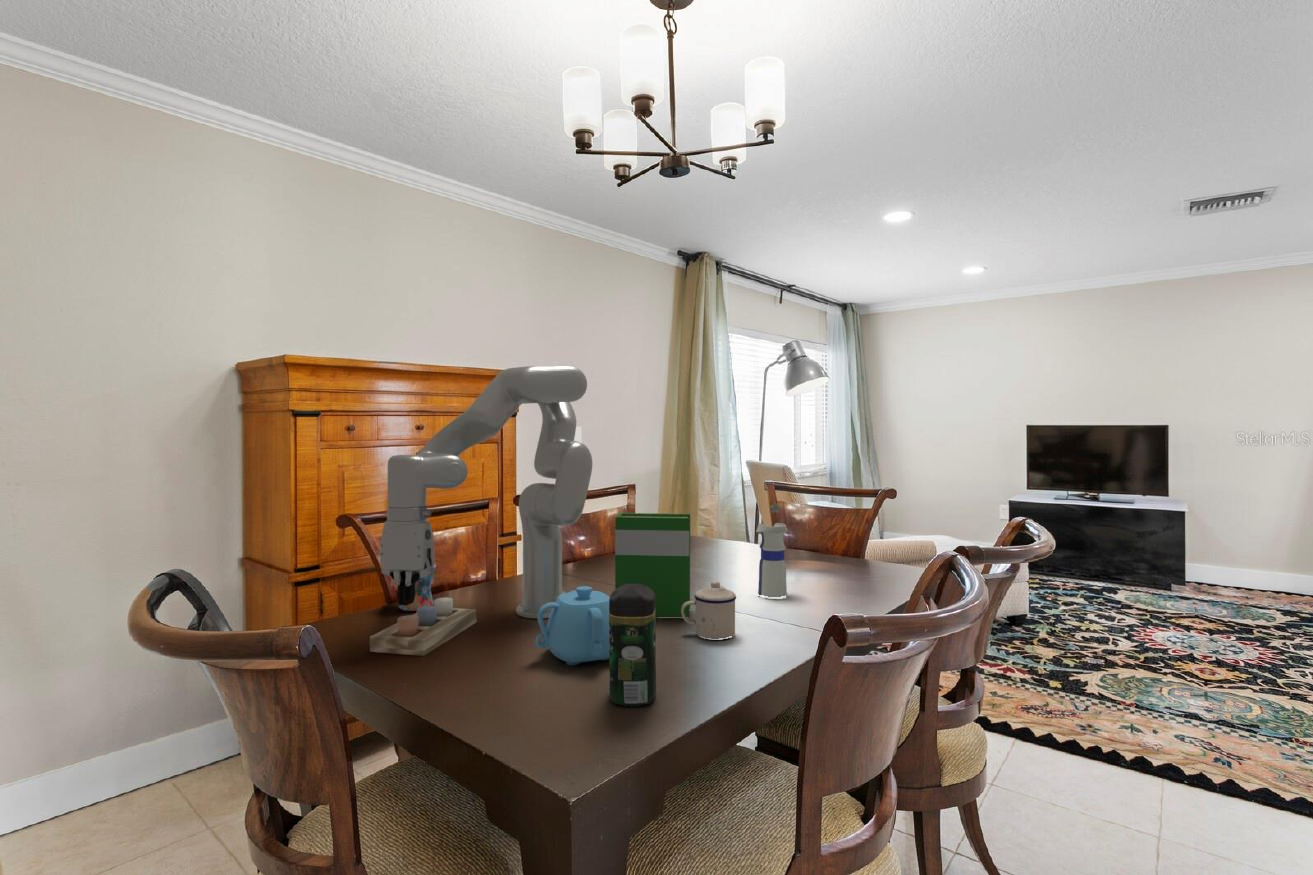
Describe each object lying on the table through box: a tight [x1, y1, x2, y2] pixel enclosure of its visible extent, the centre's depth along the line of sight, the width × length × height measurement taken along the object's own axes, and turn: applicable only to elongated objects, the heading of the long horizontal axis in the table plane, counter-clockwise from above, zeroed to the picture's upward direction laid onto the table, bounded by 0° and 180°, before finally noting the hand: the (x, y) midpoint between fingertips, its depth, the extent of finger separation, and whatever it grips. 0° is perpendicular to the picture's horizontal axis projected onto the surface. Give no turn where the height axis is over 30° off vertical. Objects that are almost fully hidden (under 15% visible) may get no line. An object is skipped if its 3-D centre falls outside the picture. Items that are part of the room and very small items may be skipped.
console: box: [369, 607, 477, 657], centre depth 137 cm, size 12×22×3 cm, turn 169°
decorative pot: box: [534, 585, 610, 666], centre depth 126 cm, size 16×16×14 cm
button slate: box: [416, 605, 437, 626], centre depth 137 cm, size 4×4×4 cm
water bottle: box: [755, 501, 789, 597], centre depth 170 cm, size 8×9×25 cm
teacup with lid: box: [681, 580, 737, 639], centre depth 138 cm, size 12×9×12 cm
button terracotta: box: [397, 614, 418, 637], centre depth 130 cm, size 4×4×4 cm
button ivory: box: [433, 596, 454, 617], centre depth 144 cm, size 4×4×4 cm
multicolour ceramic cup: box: [397, 563, 437, 612], centre depth 160 cm, size 12×9×11 cm
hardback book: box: [614, 512, 691, 618], centre depth 154 cm, size 18×7×24 cm, turn 85°
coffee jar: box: [608, 584, 657, 708], centre depth 107 cm, size 10×8×19 cm
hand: (406, 603), depth 130 cm, fingers closed
